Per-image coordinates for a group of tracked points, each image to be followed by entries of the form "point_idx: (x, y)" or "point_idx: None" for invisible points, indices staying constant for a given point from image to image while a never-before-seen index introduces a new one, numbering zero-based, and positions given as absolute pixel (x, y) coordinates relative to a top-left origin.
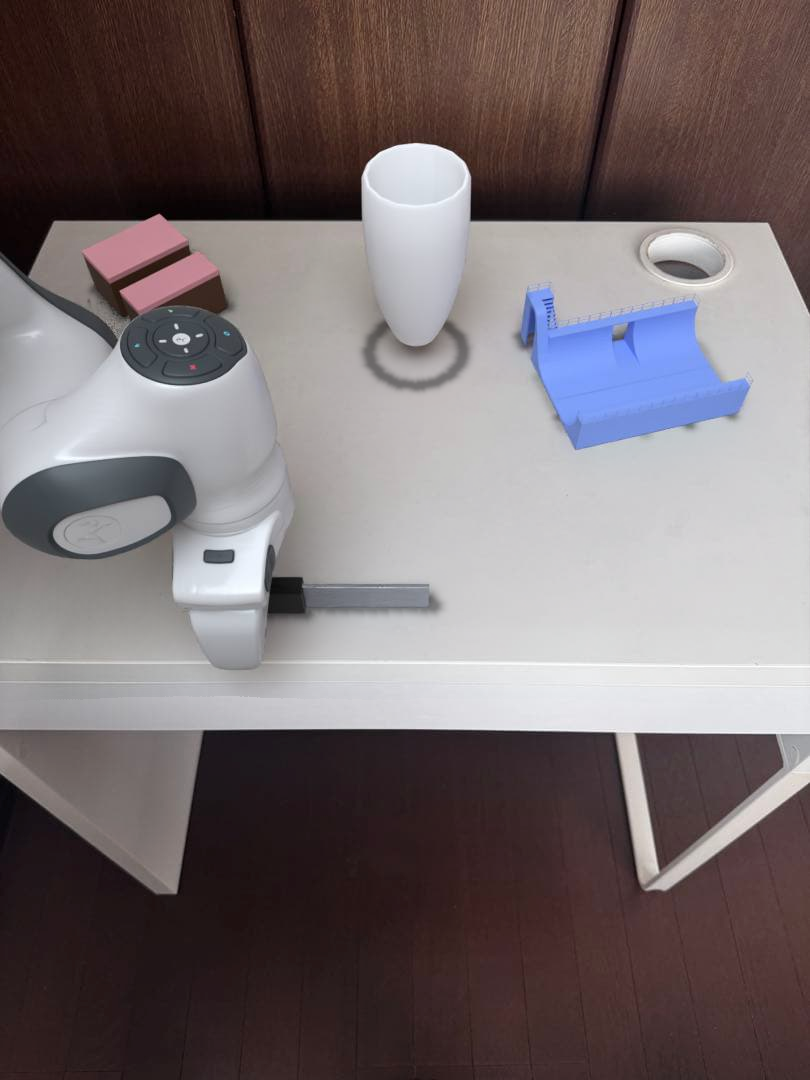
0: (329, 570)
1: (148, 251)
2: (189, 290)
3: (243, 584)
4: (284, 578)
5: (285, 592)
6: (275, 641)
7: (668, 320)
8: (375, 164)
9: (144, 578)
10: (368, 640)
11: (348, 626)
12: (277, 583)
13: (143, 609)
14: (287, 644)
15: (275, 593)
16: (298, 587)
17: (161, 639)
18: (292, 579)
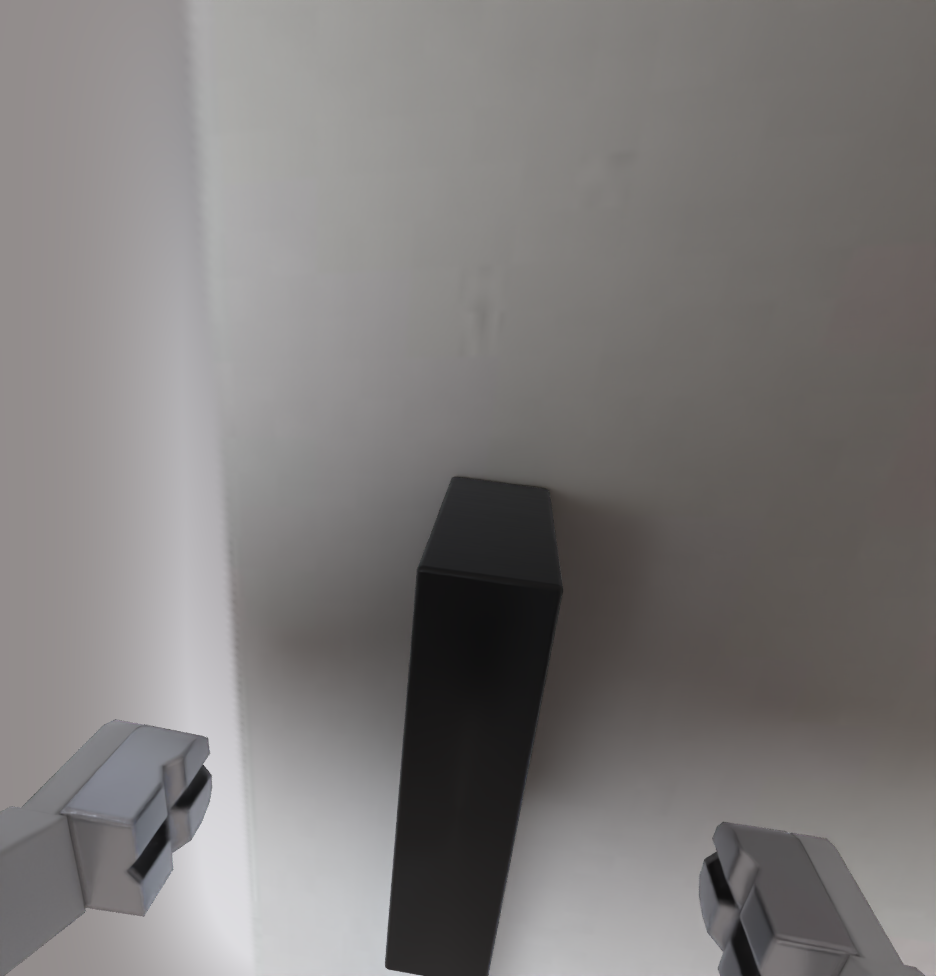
0: (597, 879)
1: None
2: None
3: None
4: (486, 930)
5: (399, 925)
6: (309, 692)
7: None
8: None
9: (771, 16)
10: (313, 927)
11: (363, 892)
12: (457, 903)
13: (527, 37)
14: (296, 728)
15: (398, 887)
16: (425, 968)
17: (319, 184)
18: (473, 958)
